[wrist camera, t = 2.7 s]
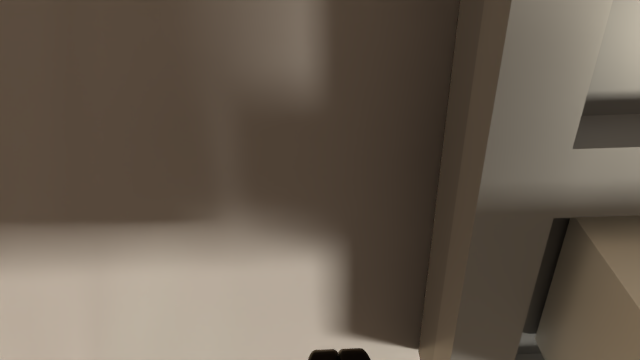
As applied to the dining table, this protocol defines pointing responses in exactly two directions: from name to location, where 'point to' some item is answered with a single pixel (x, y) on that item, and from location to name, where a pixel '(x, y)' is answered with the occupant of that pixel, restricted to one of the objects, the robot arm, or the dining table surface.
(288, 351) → the dining table surface
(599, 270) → the tab
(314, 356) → the robot arm
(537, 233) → the gray shelf unit
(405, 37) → the dining table surface
